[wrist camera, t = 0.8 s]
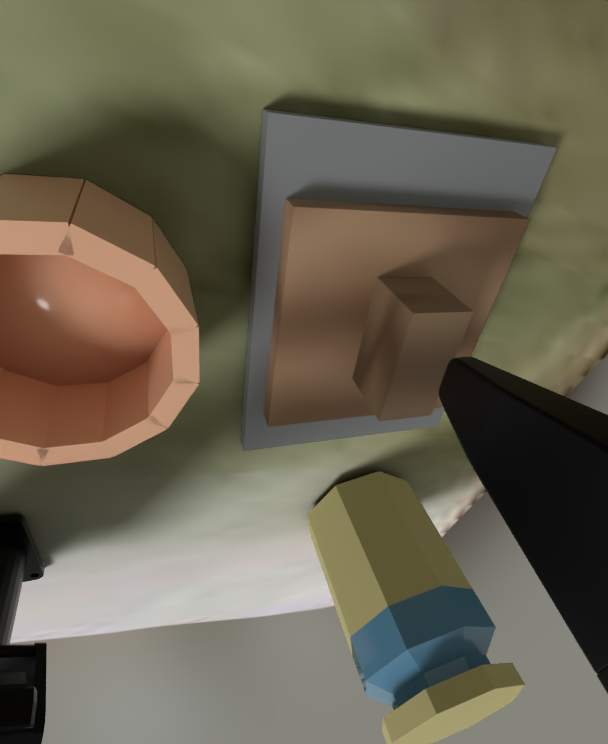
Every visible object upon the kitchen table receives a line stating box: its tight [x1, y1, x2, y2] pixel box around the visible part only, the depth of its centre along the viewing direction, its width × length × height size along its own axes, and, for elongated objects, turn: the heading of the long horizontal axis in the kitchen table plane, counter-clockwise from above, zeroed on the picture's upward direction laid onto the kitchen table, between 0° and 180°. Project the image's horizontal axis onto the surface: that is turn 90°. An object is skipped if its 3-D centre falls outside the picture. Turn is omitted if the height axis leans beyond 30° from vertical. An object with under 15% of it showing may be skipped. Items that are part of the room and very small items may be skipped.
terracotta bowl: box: [0, 174, 199, 466], centre depth 17 cm, size 10×10×5 cm
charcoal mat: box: [241, 109, 557, 451], centre depth 24 cm, size 18×14×1 cm
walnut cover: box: [263, 198, 530, 427], centre depth 22 cm, size 12×12×5 cm
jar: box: [307, 471, 525, 744], centre depth 30 cm, size 9×9×15 cm
